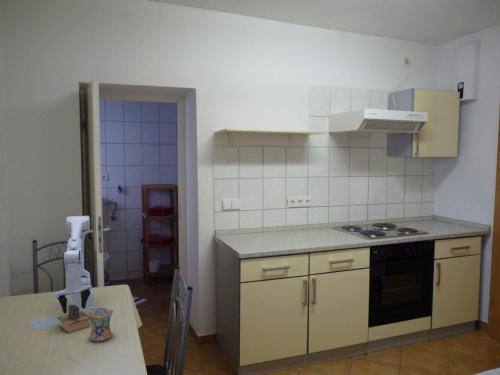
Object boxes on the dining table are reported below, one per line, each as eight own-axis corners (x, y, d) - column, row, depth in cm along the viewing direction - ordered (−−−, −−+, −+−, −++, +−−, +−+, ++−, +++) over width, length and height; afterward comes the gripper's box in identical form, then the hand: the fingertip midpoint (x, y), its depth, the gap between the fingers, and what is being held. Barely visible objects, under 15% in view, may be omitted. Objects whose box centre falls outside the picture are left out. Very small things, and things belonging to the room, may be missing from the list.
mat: (54, 316, 179) (54, 315, 179) (63, 323, 171) (63, 322, 171) (27, 323, 171) (27, 322, 171) (36, 331, 163) (36, 330, 163)
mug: (115, 339, 157) (115, 313, 156) (90, 345, 152) (90, 318, 151) (108, 328, 167) (108, 303, 166) (84, 333, 162) (84, 308, 161)
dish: (80, 322, 173) (79, 313, 172) (88, 328, 167) (87, 318, 167) (60, 327, 167) (60, 318, 167) (68, 334, 161) (68, 324, 161)
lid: (80, 312, 174) (80, 300, 174) (91, 318, 167) (90, 307, 167) (57, 318, 167) (56, 306, 167) (66, 325, 160) (66, 313, 160)
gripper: (59, 284, 158) (59, 317, 159) (94, 277, 168) (95, 308, 169) (52, 280, 162) (53, 312, 163) (87, 273, 173) (88, 304, 174)
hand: (74, 310), depth 167 cm, fingers open, 7 cm apart
